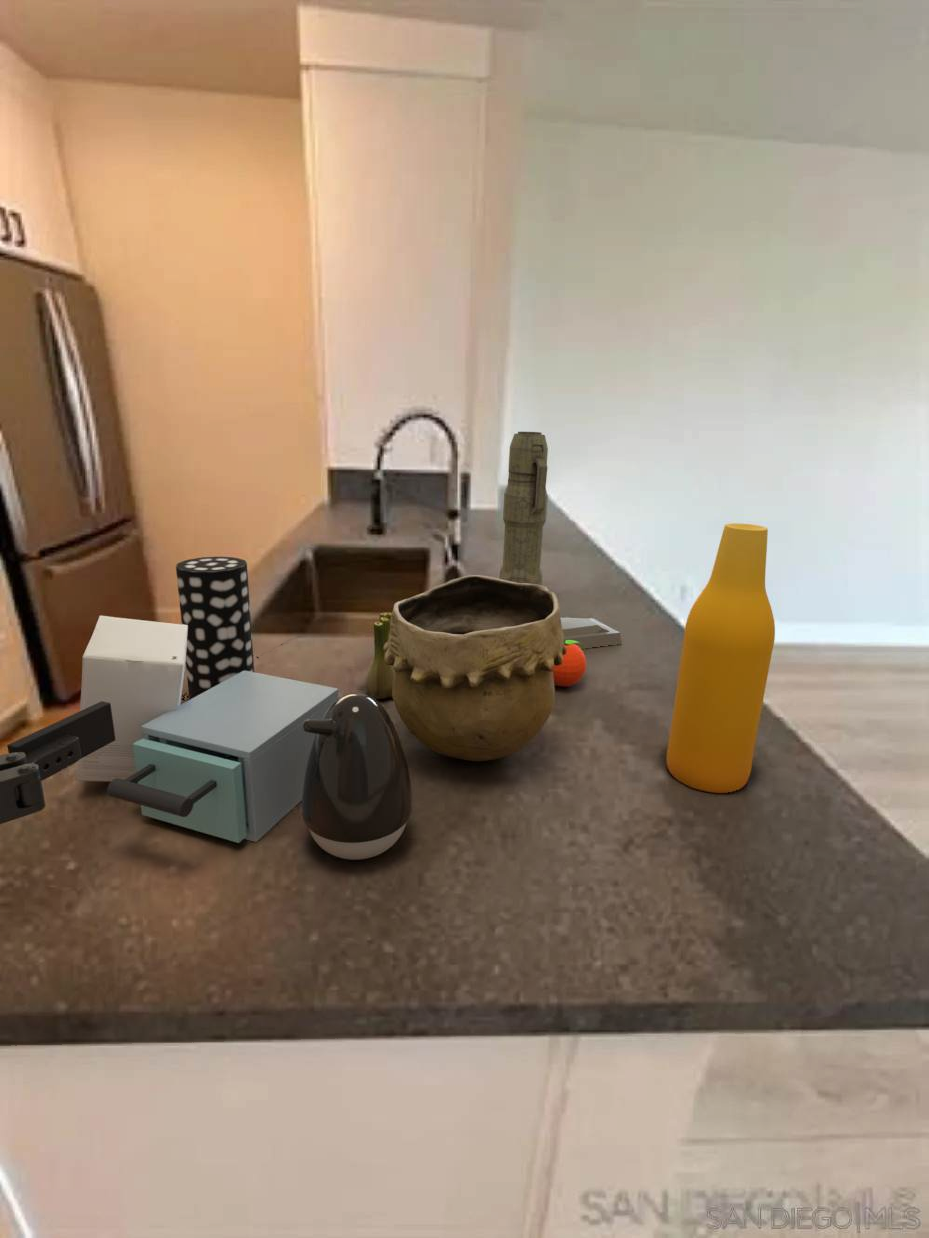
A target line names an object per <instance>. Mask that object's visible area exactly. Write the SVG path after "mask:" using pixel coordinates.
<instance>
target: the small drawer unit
mask: <svg viewBox="0 0 929 1238" xmlns="http://www.w3.org/2000/svg"><path fill="white" fill-rule="evenodd" d="M339 698H340V697H339V688H338V687H332V686H328V685H322V684H316V683H313V682H312V683H311V682H305V681H301V680H296V679H291V678H286V677H280V676H275V675H270V674H266V673H265V674H264V673H260V672H256V671H254V672H250V671H245V670H244V671H242V672H240V673H238V674H237V675H235V676H233V677H231V678H229V679H227V680H225V681H224V682H222V683H220V684H218V685H216V686H214V687H213V688H211V689H209V690H207V691H205V692H203V693H201V694H200V695H198V696H196V697H194V698H192V699H190V700H189V699H188V700H186V701H185V702H182V704H181V703H180V705H179V707H178V710H172V711H168V712H166V713H165V714H163V715H161V716H159V717H157V718H155V719H153V720H152V721H150V722H148V723H146V724H144V725H142V726H141V732H142V739H147V740H151V741H155V742H159V743H160V740H159V738H163V739H167V740H171V741H175V742H179V743H183V744H187V745H191V746H196V747H200V748H204V749H208V750H212V751H216V752H220V753H224V754H228V755H233V756H237V757H241V758H244V772H245V785H246V798H247V811H248V823H246V833H247V836H246V837H245V838H244V839H243V840H246V841H250V842H254V843H258V842H259V841H260V840H261V838H263V837H264V836H265V835H266V834H267V833H268V832H269V831H270V830H272V829H273V827H275V826H276V825H277V824H278V823H280V821H281V820H282V819H284V817H286V816H287V814H288V815H289V813H291V811H292V810H293V809H294V808H296V806H297V805H298V804H299V803H301V802H302V795H303V786H304V778H305V772H306V767H307V762H308V758H309V754H310V751H311V748H312V744H313V741H314V738H315V735H316V734H315V733H309V732H305V731H304V729H303V723H304V721H306V720H322V719H323V717H324V715H325V714H326V712H327V711H328V709H329V708H330V706H331V705H332V704H333V703H334V702H335V701H336V700H337V699H339Z"/></svg>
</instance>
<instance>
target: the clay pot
mask: <svg viewBox="0 0 929 1238" xmlns="http://www.w3.org/2000/svg"><path fill="white" fill-rule="evenodd" d="M391 613H392V616H391V620H390V632H389V638H388V642H387V643H386V644H385V645H384V651H385V652H386V653H385V663H386V664H387V665H393V667H394V669H395V676H394V680H393V687H392V696H393V697H392V700H393V704H394V706H395V709H396V711H397V713H398V715H399V718H400V719H401V721H402V722H403V724H404V725H405V727H406V729H407V730H408V731H410V733H411V734H412V735H413V736H414V737H415V738H416V739H417V740H418V741H419V742H420V743H421V744H423V745H424V746H426V747H427V748H429V749H431V750H432V751H433V752H437V753H439V754H440V755H443V756H446V757H451V758H454V759H458V760H464V761H470V762H487V761H494V760H497V759H498V760H499V759H502V758H505V757H508V756H510V755H512V754H514V753H516V752H519V751H521V750H522V749H523V748H525V747H526V746H527V745H529V744H530V743H531V742H532V741H533V739H534V738H535V737H536V736H537V735H538V734H539V732H540V731H541V730H542V729H543V727H544V726H545V724H546V723H547V721H548V720H549V718H550V716H551V714H552V712H553V708H554V703H555V695H556V691H555V690H556V689H555V685H554V678H553V667H554V665H556V666H558V665H561V664H562V655H565V654H566V652H567V648H566V646H565V645H564V639H563V637H564V634H563V631H562V625H561V618H562V617H561V609H560V604H559V599H558V598H557V595H556V593H554V591H550V590H549V588H548V587H547V586H544V585H542V586H541V585H537V584H529V583H516V582H511V581H506V580H502V579H500V578H497V577H492V576H489V575H480V574H470V575H465V576H461V577H458V578H454V579H450V580H449V581H447V582H445V583H442V584H440V585H436V586H434V587H432V588H430V589H428V590H427V591H424V592H422V593H418V594H416V595H414V596H411V597H409V598H405V599H402V600H399V601H396V602H394V604H393V609H392V612H391Z"/></svg>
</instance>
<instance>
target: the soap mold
mask: <svg viewBox="0 0 929 1238" xmlns="http://www.w3.org/2000/svg"><path fill="white" fill-rule="evenodd" d="M560 618H561V625H562V631H563V634H564V637H563V639H564V640H574V641H577V642H579V643H575V644H576V645H577V646H579V647H580V648H581V650H585V649H584V647H583V646H582V645H581V644H583V645H584V646H585V648H589V649H593V648H592V647H598V648H601V647H600V646H606V647H609V646H608V645H614V646H618V645H617V644H622V645H623V643H622V637H621V632H620V631H617V630H616V629H614V628H613V627H610V626H608V625H606V624H604V623H603V622H601V621H599V620H597V619H595V618H593V617H589V618H579V617H560ZM580 643H581V644H580Z"/></svg>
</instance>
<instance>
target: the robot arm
mask: <svg viewBox="0 0 929 1238" xmlns="http://www.w3.org/2000/svg"><path fill="white" fill-rule="evenodd" d="M115 740H116V739H115V732H114V725H113V718H112V711H111V704H110V703H108V702H103V701H101V702H99V703H97V704H94V705H92V706H90V707H88V708H86V709H84V710H81V711H80V710H79V711H77V712H75V713H73V714H71V715H69V716H66V717H65V718H62V719H60V720H58V721H56V722H54V723H52V724H49V725H47V726H45V727H43V728H41V729H38V730H36V731H34V732H32V733H29V734H28V735H26V736H23V737H20V738H19V739H17V740H14V741H12V742H10V743H8V744H7V745H6V747H7V752H8V753H3V754H0V825H2V824H5V823H9V822H11V821H14V820H18V819H20V818H23V817H26V816H29V815H32V814H35V813H38V812H40V811H42V810H43V809H44V808H45V807H46V801H45V794H44V790H43V789H44V788H43V783H42V781H45V780H46V779H48V778H50V777H52V776H54V775H56V774H57V773H59V772H61V771H62V770H65V769H66V768H68V767H71V766H72V765H74V764H77V761H79V760H80V759H82V758H84V757H85V756H87V755H89V754H91V753H93V752H95V751H96V750H98V749H100V748H102V747H104V746H106V745H108V744H109V743H111V742H113V741H115Z"/></svg>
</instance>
